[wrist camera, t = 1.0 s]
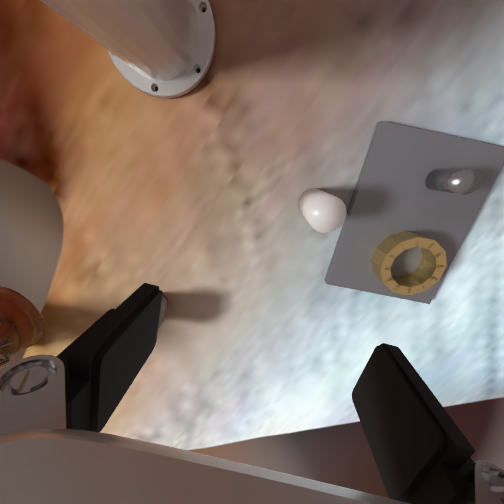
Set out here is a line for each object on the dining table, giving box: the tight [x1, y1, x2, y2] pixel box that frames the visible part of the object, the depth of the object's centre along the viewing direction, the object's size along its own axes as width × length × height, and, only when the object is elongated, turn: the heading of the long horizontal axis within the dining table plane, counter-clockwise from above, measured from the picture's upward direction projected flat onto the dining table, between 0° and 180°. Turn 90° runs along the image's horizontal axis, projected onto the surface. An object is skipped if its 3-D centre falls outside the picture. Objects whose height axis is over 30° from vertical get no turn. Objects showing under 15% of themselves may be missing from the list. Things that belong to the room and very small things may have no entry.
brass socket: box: [371, 231, 447, 295], centre depth 32 cm, size 8×8×3 cm
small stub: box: [425, 169, 482, 195], centre depth 28 cm, size 3×3×5 cm
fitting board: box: [325, 121, 504, 304], centre depth 33 cm, size 22×16×1 cm
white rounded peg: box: [298, 188, 346, 233], centre depth 29 cm, size 4×4×8 cm
